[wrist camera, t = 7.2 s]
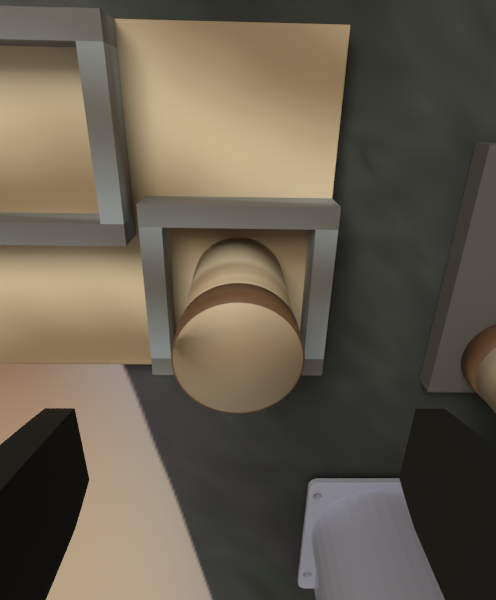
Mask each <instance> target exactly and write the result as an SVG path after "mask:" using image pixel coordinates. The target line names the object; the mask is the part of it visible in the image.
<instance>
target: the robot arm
mask: <svg viewBox="0 0 496 600" xmlns="http://www.w3.org/2000/svg"><path fill="white" fill-rule="evenodd" d="M88 482H89V477H88V472H87V467H86V462H85V457H84V452H83V447H82V442H81V438H80V433H79V428H78V423H77V418H76V413H75V409H44V410H43V411H41V412H40V413H39V414H38V415H36V416H35V417H34V418H32V419H31V420H30V421H29V422H27V423H26V424H25V425H24V426H23V427H21V428H20V429H19V430H18V431H17V432H15V433H14V434H13V435H12V436H11V437H9V438H8V439H7V440H6V441H4V442H3V443H2V444H1V445H0V600H46V598H47V595H48V593H49V590H50V588H51V586H52V583H53V581H54V579H55V576H56V574H57V571H58V569H59V566H60V564H61V562H62V559H63V557H64V554H65V552H66V550H67V547H68V545H69V542H70V540H71V537H72V535H73V532H74V530H75V527H76V523H77V520H78V517H79V513H80V510H81V507H82V503H83V500H84V496H85V493H86V489H87V485H88ZM315 493H317V494H315ZM298 585H299V586H300V587H301V588H314V590H315V597H316V600H496V449H495V448H494V447H493V446H491V445H490V444H489V443H488V442H486V441H485V440H484V439H483V438H481V437H480V436H479V435H478V434H476V433H475V432H474V431H473V430H471V429H470V428H469V427H467V426H466V425H465V424H464V423H462V422H461V421H460V420H459V419H457V418H456V417H455V416H453V415H452V414H451V413H449V412H448V411H447V410H445V409H416V410H415V415H414V419H413V423H412V427H411V431H410V436H409V440H408V444H407V448H406V452H405V457H404V461H403V465H402V469H401V473H400V478H316V479H313V480H311V481H310V482H309V484H308V490H307V499H306V508H305V517H304V526H303V535H302V543H301V552H300V561H299V570H298Z"/></svg>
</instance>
